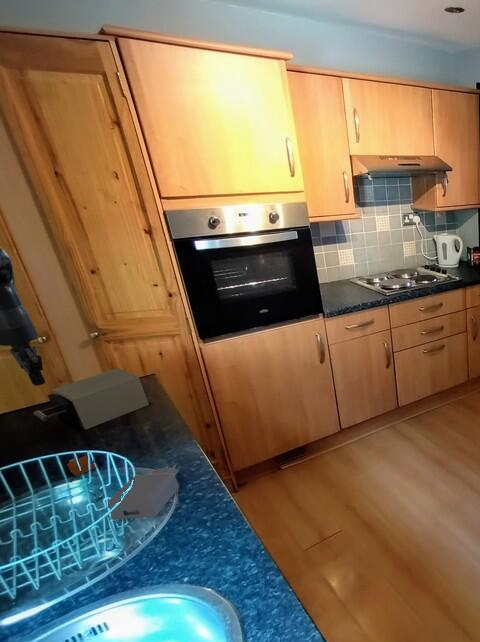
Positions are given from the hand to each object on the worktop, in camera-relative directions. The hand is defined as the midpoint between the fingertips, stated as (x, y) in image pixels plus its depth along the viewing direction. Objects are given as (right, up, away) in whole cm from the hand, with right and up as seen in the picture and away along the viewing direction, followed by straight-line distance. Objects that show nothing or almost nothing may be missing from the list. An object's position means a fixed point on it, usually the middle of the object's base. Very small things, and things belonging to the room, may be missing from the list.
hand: (39, 384), depth 121 cm
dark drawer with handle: (+3, -10, +11) cm, 15 cm away
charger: (+46, -24, -18) cm, 55 cm away
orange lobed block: (+20, -20, -10) cm, 30 cm away
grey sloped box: (+5, -9, +15) cm, 18 cm away
